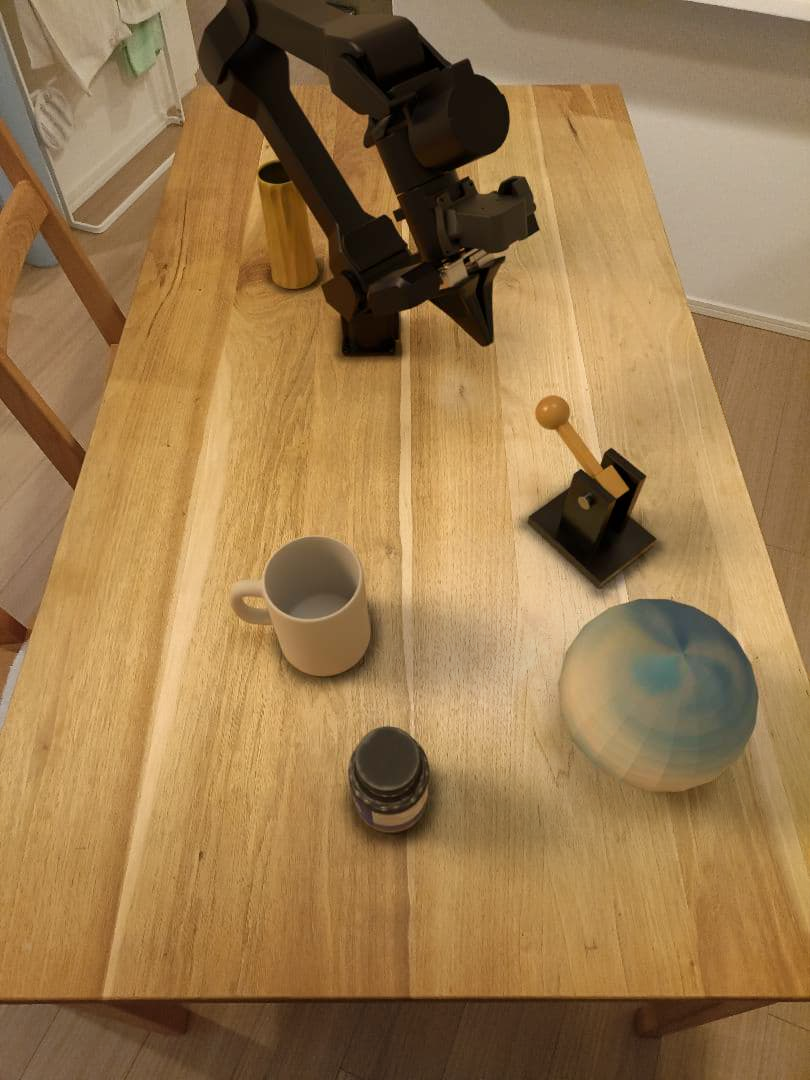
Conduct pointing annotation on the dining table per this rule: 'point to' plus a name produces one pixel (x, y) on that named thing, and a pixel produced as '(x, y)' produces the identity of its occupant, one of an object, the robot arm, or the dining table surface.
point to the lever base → (596, 522)
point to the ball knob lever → (577, 443)
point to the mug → (311, 604)
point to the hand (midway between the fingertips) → (487, 344)
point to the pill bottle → (389, 779)
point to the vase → (286, 228)
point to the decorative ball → (658, 695)
